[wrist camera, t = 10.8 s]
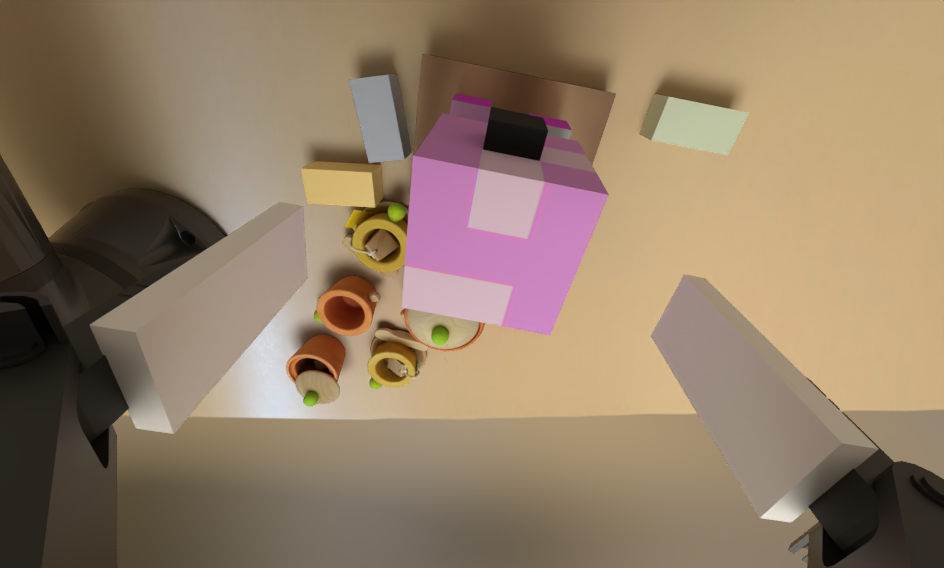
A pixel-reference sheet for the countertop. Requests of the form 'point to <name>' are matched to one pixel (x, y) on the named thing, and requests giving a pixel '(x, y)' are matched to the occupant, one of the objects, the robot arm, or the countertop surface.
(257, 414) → the countertop surface
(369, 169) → the brick ochre
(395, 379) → the toy tea set
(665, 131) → the brick sage
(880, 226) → the countertop surface
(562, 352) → the countertop surface
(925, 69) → the countertop surface
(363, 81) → the brick slate
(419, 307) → the toy
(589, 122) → the pedestal
